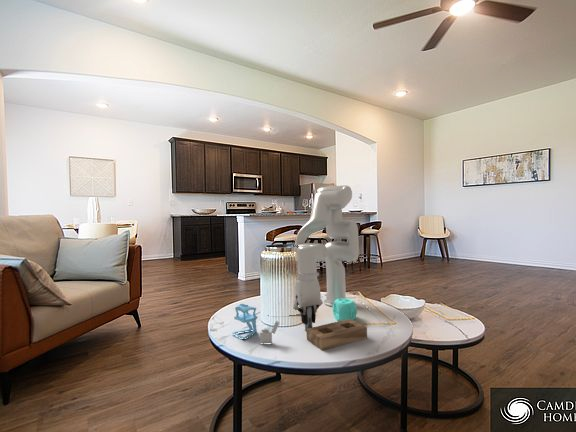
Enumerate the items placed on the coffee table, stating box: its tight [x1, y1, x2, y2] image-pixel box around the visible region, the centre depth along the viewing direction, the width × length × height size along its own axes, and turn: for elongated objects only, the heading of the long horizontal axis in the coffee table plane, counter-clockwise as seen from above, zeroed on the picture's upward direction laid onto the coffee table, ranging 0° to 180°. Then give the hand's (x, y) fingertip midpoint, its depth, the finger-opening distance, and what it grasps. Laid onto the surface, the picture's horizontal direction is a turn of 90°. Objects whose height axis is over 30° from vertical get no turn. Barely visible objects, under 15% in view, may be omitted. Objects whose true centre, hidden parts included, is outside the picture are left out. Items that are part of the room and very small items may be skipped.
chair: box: [231, 303, 258, 339], centre depth 117 cm, size 8×8×12 cm
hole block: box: [306, 319, 368, 351], centre depth 111 cm, size 10×20×4 cm, turn 117°
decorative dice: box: [332, 298, 358, 322], centre depth 131 cm, size 8×8×8 cm
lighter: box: [259, 320, 280, 344], centre depth 108 cm, size 7×2×8 cm, turn 87°
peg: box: [304, 306, 313, 333], centre depth 119 cm, size 3×3×10 cm
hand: (308, 322), depth 119 cm, fingers closed on peg, 3 cm apart
